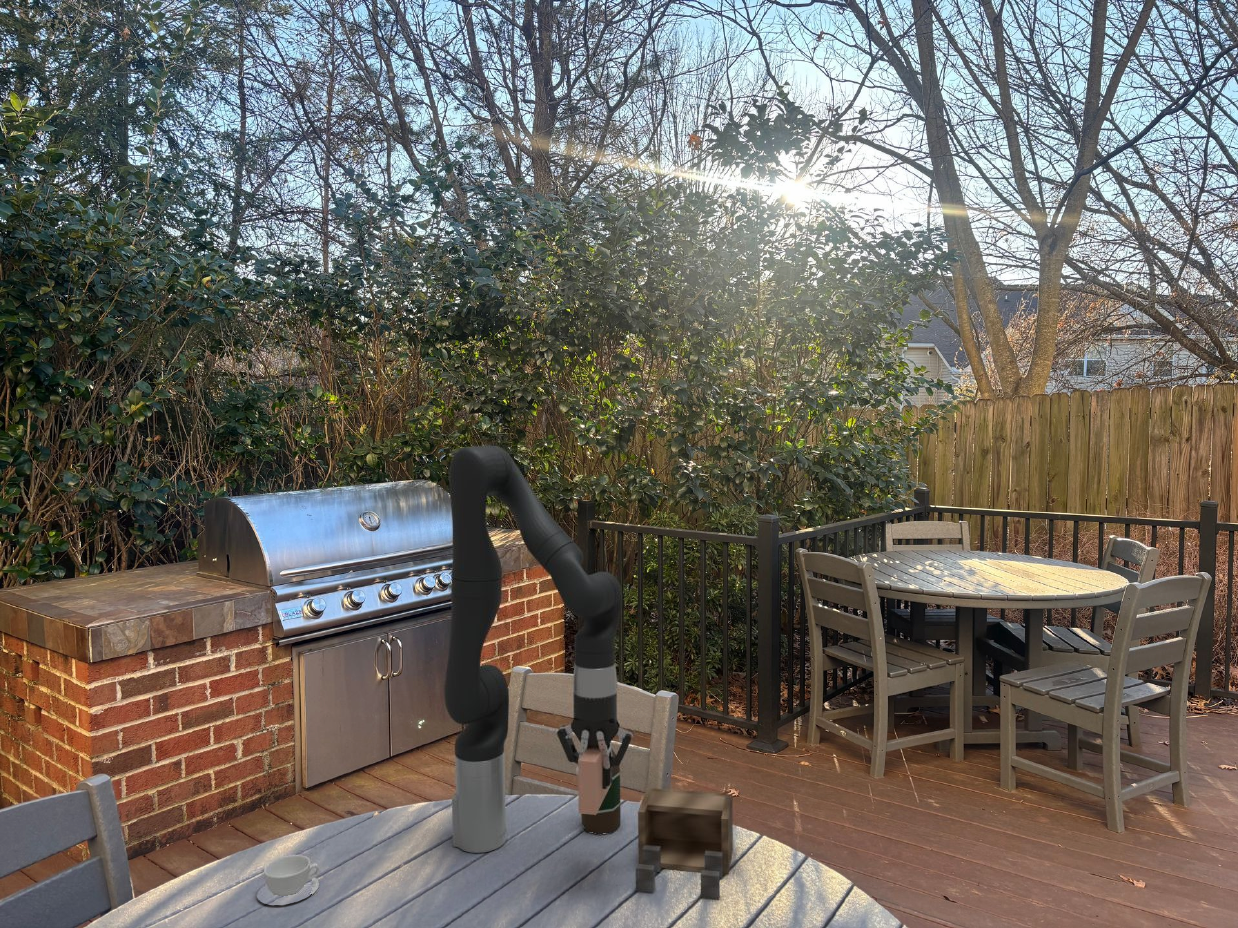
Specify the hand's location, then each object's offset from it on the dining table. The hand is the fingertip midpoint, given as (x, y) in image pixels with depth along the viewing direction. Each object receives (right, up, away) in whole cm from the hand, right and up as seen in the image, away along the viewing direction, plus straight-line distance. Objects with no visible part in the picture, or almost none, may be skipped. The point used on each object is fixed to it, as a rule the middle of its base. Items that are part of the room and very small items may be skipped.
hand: (595, 785), depth 148 cm
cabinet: (+16, -16, +3) cm, 22 cm away
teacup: (-53, -17, -3) cm, 55 cm away
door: (0, -2, 0) cm, 2 cm away
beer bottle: (+1, -15, +19) cm, 25 cm away
